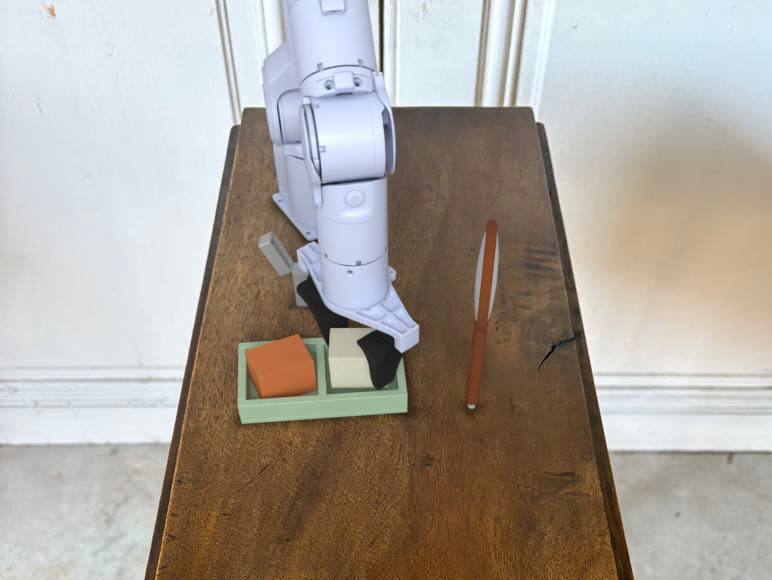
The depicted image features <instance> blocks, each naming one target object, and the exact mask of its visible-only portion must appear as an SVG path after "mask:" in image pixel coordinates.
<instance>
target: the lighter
mask: <svg viewBox="0 0 772 580" xmlns="http://www.w3.org/2000/svg"><path fill="white" fill-rule="evenodd" d="M258 248H259V249H260V251H261V252H262V253H263V255H264V256H265V257H266V259H267V260H268V262H269V263H270V264H271V266H272V268H274V270H275V271H276V272H277V274H278V276H279V277H283V276H287V275H289V274H291V276H292V284H293V290H294V297H295V304H296V306H297V307H307V308H309V307H308V306H307V304H306V303H305V302H304V300H303V299H302V298H301V297H300V296H299V295H298V294H297V290H296V288H297V285H298V284H299V283H301V282H303V281H304V280H306V279H307V276H309V274H308V272H304V271H303V270H302V269H300V268H299V265H298V261H297V262H294V259H292V257H291V256H290V254H289V252H288V251H287V250H286V249H285V247H284V246H283V244H282V243H281V241H280V240H279V239H278V237H277V236H276V234H275V232H273V231H270V232H267V233H265V234H263V235H260V238H259V241H258Z"/></svg>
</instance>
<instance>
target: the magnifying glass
mask: <svg viewBox="0 0 772 580" xmlns="http://www.w3.org/2000/svg"><path fill="white" fill-rule="evenodd" d="M485 227H486V228H485V231H484V234H483V237H482V240H481V244H480V247H479V253H478V258H477V264H476V272H475V281H474V316H475V317H474V318H475V319H474V322H473V328H472V329H473V330H472V340H471V347H470V359H469V367H468V368H469V369H468V375H467V376H468V377H467V387H466V397H465V402H466V404H467V407H468V408H469V409H471V410H472V409H475V408H476V405H477V404H478V403H479V397H480V390H481V382H482V375H483V368H484V367H483V366H484V359H485V351H486V345H487V344H486V343H487V335H488V327H489V319H490V316H491V313H492V310H493V305H494V301H495V295H496V290H497V284H498V283H497V282H498V274H499V273H498V272H499V259H500V258H499V253H500V249H499V246H500V245H499V235H498V229H499V223H498V221H497V220H493V219H490V220H487V222H486V225H485Z"/></svg>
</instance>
